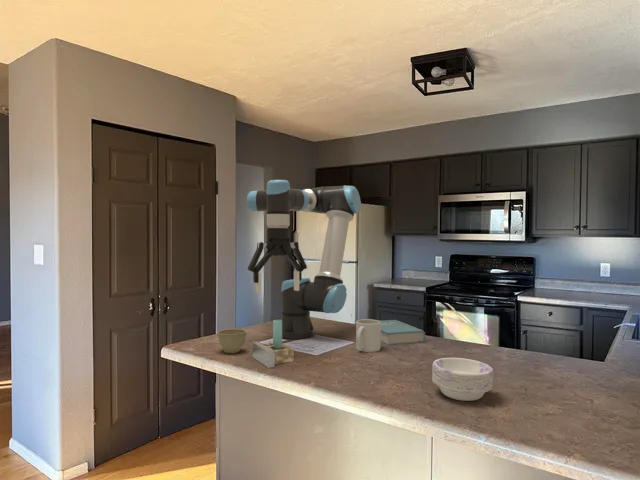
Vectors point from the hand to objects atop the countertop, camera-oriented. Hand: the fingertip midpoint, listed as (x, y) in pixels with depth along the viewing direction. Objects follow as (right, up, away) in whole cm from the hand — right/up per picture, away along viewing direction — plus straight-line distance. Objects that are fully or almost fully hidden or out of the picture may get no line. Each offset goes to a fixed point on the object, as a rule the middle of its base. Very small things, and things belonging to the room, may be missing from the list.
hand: (277, 291), depth 150 cm
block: (0, -23, 0) cm, 23 cm away
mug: (+31, -23, +15) cm, 41 cm away
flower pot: (-17, -23, +10) cm, 30 cm away
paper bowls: (+51, -24, -31) cm, 64 cm away
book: (+44, -23, +35) cm, 60 cm away
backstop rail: (-5, -23, -2) cm, 23 cm away
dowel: (0, -22, 0) cm, 22 cm away
